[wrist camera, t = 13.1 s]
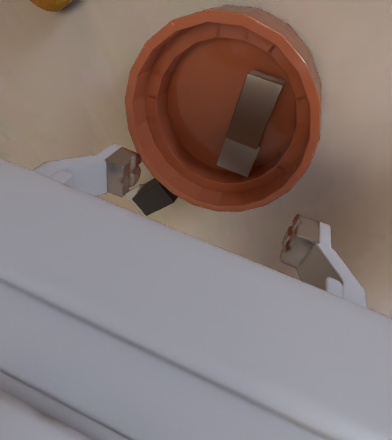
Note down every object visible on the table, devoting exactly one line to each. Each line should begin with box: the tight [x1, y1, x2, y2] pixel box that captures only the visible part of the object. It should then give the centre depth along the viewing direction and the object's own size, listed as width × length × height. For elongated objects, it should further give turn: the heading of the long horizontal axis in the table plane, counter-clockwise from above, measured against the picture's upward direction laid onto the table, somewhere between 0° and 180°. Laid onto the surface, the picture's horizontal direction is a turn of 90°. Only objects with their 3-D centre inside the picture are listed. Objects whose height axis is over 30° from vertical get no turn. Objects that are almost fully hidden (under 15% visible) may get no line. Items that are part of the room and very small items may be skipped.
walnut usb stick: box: [217, 70, 285, 177], centre depth 21 cm, size 8×3×3 cm, turn 164°
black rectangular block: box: [125, 178, 178, 216], centre depth 31 cm, size 8×3×3 cm, turn 128°
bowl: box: [125, 5, 321, 212], centre depth 22 cm, size 14×14×5 cm
